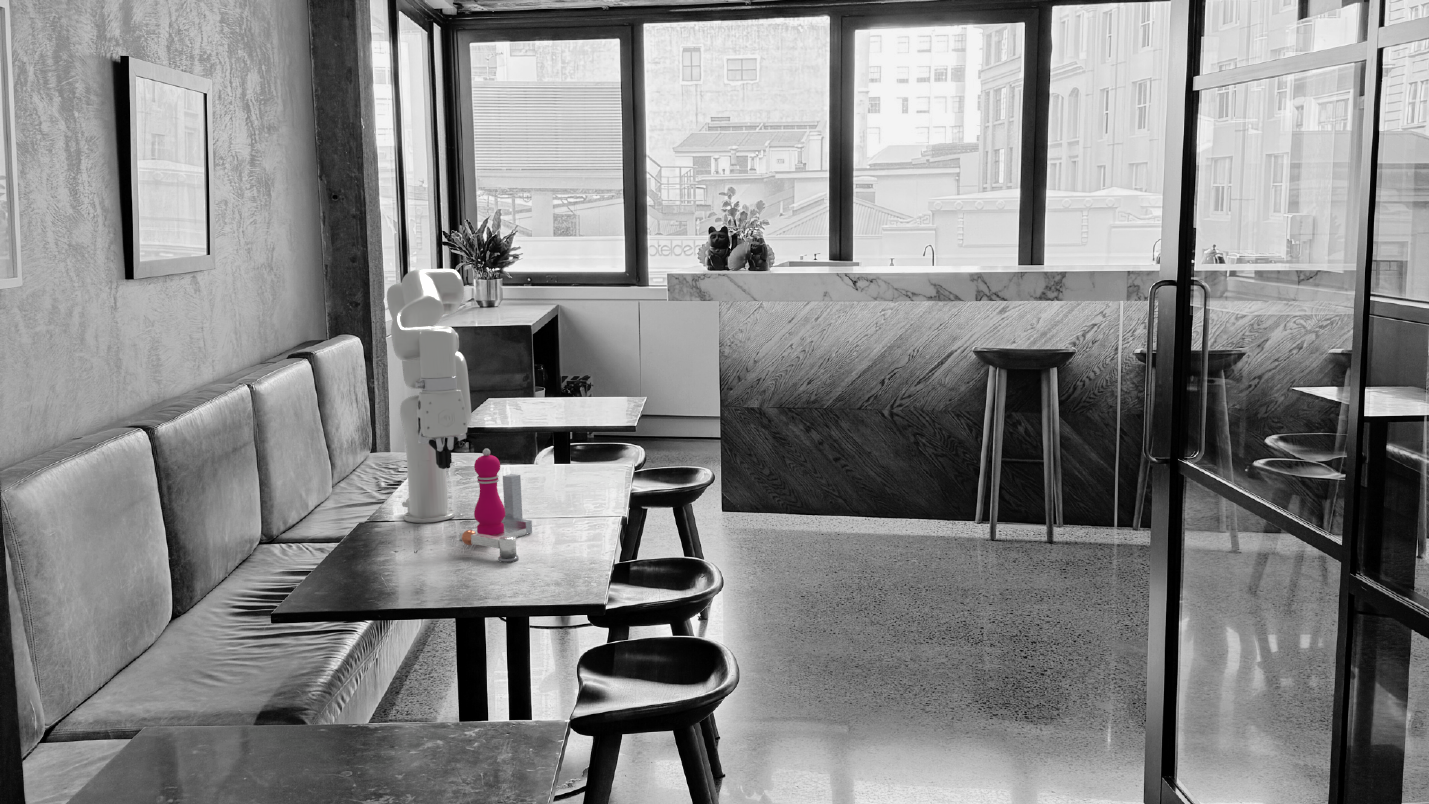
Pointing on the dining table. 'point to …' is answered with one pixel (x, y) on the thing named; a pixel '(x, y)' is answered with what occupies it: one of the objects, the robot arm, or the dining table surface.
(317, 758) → the dining table surface
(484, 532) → the pepper mill
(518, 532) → the press bed
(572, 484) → the dining table surface
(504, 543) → the lever
